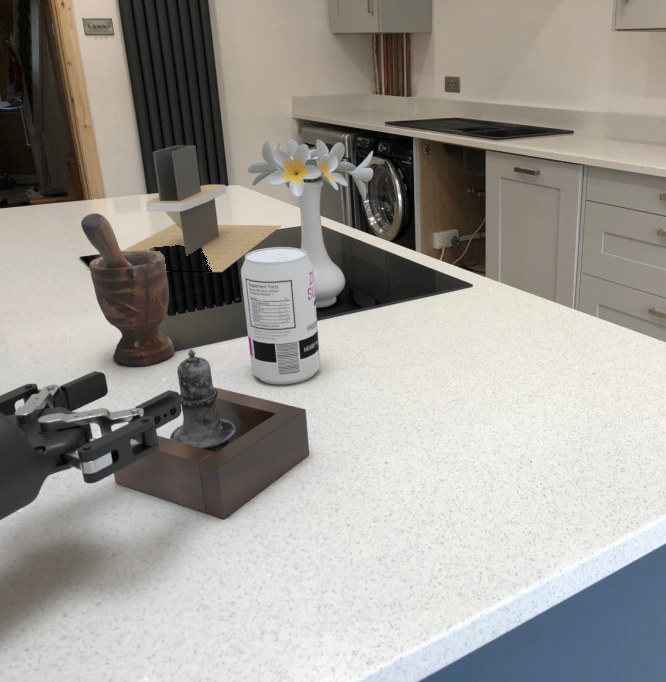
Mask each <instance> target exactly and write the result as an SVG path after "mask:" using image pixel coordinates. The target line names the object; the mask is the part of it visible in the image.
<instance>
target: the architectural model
mask: <svg viewBox="0 0 666 682" xmlns="http://www.w3.org/2000/svg"><path fill="white" fill-rule="evenodd" d="M196 148H197V147H196V145H173V146H170V147H165V148H163V149H159V150H156V151H152V157H153V164H154V172H155V177H156V178H155V179H156V185H157V191H158V192H157V193H158V196H157V197H155V198H153V199H150V200H148V201H146V202H145V206H146V211H147V212H156V213H159V212H160V213H161V212H162V213H165V214H166V215H167V216H168V217H169V218H170V219H171V220H172V221H173V224H171V225H170V226H168V227H166V228H164V229H162V230H160V231H158V232H156V233H154V234H152V235H150V236H147V237H146V238H144V239H142V240H141V241H138V242H137V243H135V244H133V245H131V246H129V247H127V248H125V249H122V250H121V252H123V251H127V252H129V251H136V250H138V251H141V250H145V249H146V250H149V249H150V248H153V247H163V246H170V247H171V246H175V245H181V246H184V247H185V253H186V256H188V255H189V254H191V253H193V252H194V251H196V250H197V249H199V248H201V247H202V250H203V251H202V252H203V253H204V255H205V257H206V256H207V257H206V258H207V260H208V261H207V260H206V261H207V262H208V263H207V264H208V265H209V266H210V269H211V268H212V269H211V270H212V272H211V273H223V272H224V271H225V270H227V268H229V267H231V266H232V265H233V264H234V263H235V262H237V261H238V260H240V258H242V257H243V256H245V255H246V254H248V253H249V252H250V251H251V250H252V249H254V247H256V246H257V245H258V244H260V243H261V242H262V241H265V239H266V238H268V237H269V236H270V235H271V234H273V233H274V232H275V231H277V230H278V229H279V228H280V227H281V225H256V224H255V225H253V224H251V225H248V224H247V225H246V224H218V223H219V222H218V214H217V205H216V198H218V197H220V196H223V195H225V194H227V192H226V191H227V190H226V184H204V185H201V179H200V171H199V164H198V163H199V162H198V156H197V155H198V154H197V149H196ZM209 263H210V264H209ZM207 264H206V265H207ZM209 266H208V267H209ZM208 269H209V268H208ZM86 270H87V271H90V267H89V268H87V269H86ZM209 271H210V270H209Z"/></svg>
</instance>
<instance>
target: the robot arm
mask: <svg viewBox="0 0 666 682" xmlns="http://www.w3.org/2000/svg"><path fill="white" fill-rule="evenodd" d="M107 382H108V381H107V378H106V374H105V373H104V372H101V371H97V370H94V371H92V372H89V373H87V374H84V375H82V376H80V377H78V378H75V379H73V380H71V381H68V382H66V383H64V384H61V385H60V386H59V385H58V384H49V385H46V386H44V387H42V388H41V389H39V388H38V384H37V383H26V384H23V385H21V386H19V387H17V388H15V389H12V390H10V391H8V392H5V393H3V394H0V521H2V520H3V519H6V518H7V517H9V516H11V515H12V514H15V513H16V512H18V511H20V510H21V509H23V508H25V507H27V506H29V505H30V504H32V503H33V502H34V501H35V500H36V499H37V498H38V496H39V494H40V491H41V489H42V487H43V485H44V483H45V481H46V479H47V478H48V477H49V476H51V475H54V474H56V473H59V472H63V471H66V470H70V469H72V468H74V469H76V470H79V471H81V472H82V473H81V474H82V478H83V482H84V483H85V484H95V483H98V482H100V481H102V480H103V479H106V478H108V477H110V476H111V475H114V473H115V472H117V471H119V470H121V469H123V468H124V467H126V466H128V465H130V464H132V463H134V462H136V461H138V460H139V459H141V458H143V457H145V456H147V455H149V454H151V453H153V452H154V451H156V450H158V449H159V444H158V438H157V436H158V432H157V430H158V429H159V428H161V427H163V426H165V425H167V424H169V423H170V422H172V421H174V420H176V419H177V418H179V417H180V416H181V415H182V412H183V411H182V405H181V403H180V396H179V395H180V393H179V392H178V391H174V390H170V389H169V390H166V391H164V392H162V393H160V394H158V395H156V396H154V397H152V398H150V399H148V400H146V401H144V402H142V403H140V404H138V405H136V406H134V407H133V408H128V409H123V410H118V411H110V410H109V409H107V408H105V407H100V408H96V409H89V410H84V411H76V410H78V409H80V408H83V407H85V406H87V405H89V404H92V403H93V402H95V401H97V400H99V399H102V398H104V397H106V396H107V395H108V392H109V387H108V383H107ZM20 400H23V405H22V406H19V407H18V408H17V409H16V403H17V402H19V401H20ZM123 423H127V424H125V425H123V426H120V427H118V428H116V429H114V430H113V429H112V427H113V426H115V425H119V424H123ZM91 424H96V425H97V426H98V427H99V430H100V435H101V436H99V437H93V436H94V435H93V431H92V425H91ZM134 444H138V445H136V446H134V447H131V445H134Z"/></svg>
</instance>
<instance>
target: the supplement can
mask: <svg viewBox="0 0 666 682" xmlns="http://www.w3.org/2000/svg"><path fill="white" fill-rule="evenodd" d="M240 276H241V286H242V294H243V303H244V313H245V321H246V329H247V338H248V347H249V355H250V357H249V358H250V365H251V373H252V374H253V375H254V376H255V377H256V378H258V379H259V380H260V381H262V382H264V383H266V384H271V385H292V384H297V383H301V382H304V381H307V380H308V379H310V378H312V377H313V376H314V375H315V374H316V372H317V371H318V370H319V369H320V368H321V357H320V344H319V329H318V318H317V317H318V316H317V308H316V302H315V288H314V275H313V264H312V262H311V261H310V259H309V257H308V256H307V253H306V251H304V250H302V249H301V248H299V247H289V246H274V247H265V248H260V249H255V250H252V251H248V252H247V253H246V254H245V255H244V262H243V263H242V266H241V269H240Z"/></svg>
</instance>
